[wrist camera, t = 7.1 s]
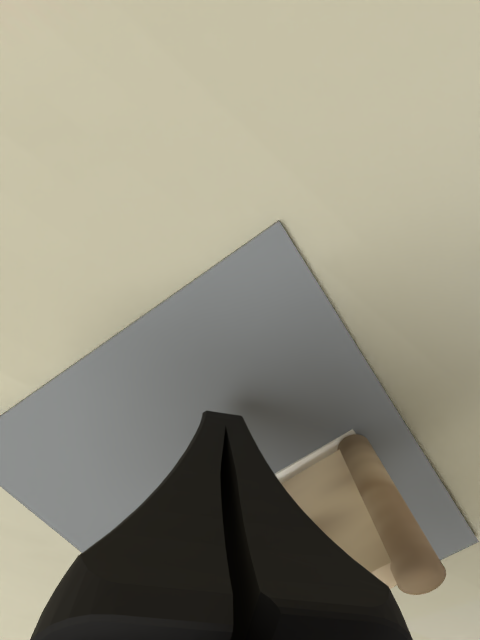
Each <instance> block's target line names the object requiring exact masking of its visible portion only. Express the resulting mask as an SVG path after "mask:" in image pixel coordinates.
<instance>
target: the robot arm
mask: <svg viewBox="0 0 480 640" xmlns="http://www.w3.org/2000/svg"><path fill="white" fill-rule="evenodd" d="M30 640H413V639H412V637H411V635H410V632H409V630H408V627H407V625H406V622H405V620H404V618H403V615H402V613H401V611H400V608H399V606H398V604H397V602H396V600H395V598H394V597H393V595H392V593H391V590H390V588H389V586H387V585H386V584H385V583H383V582H382V581H381V580H380V579H378V578H377V577H376V576H374V575H373V574H372V573H371V572H369V571H368V570H367V569H366V568H364V567H363V566H362V565H360V564H359V563H358V562H357V561H355V560H354V559H353V558H352V557H350V556H349V555H348V554H347V553H346V552H345V551H344V550H343V549H341V548H340V547H339V546H338V545H337V544H336V543H335V542H334V541H332V540H331V539H330V538H329V537H328V536H327V535H326V534H325V533H324V532H323V531H322V530H321V529H320V528H319V527H318V526H317V525H316V524H315V523H314V522H313V521H312V520H311V519H310V518H309V516H308V515H307V514H306V513H305V512H304V511H303V510H302V509H301V508H300V507H299V505H298V504H297V503H296V502H295V501H294V499H293V498H292V497H291V496H290V495H289V493H288V492H287V491H286V489H285V488H284V487H283V485H282V484H281V483H280V481H279V480H278V478H277V477H276V475H275V474H274V472H273V471H272V469H271V468H270V466H269V465H268V463H267V462H266V460H265V458H264V456H263V455H262V453H261V451H260V450H259V448H258V446H257V444H256V442H255V441H254V439H253V437H252V435H251V433H250V431H249V429H248V427H247V425H246V422H245V420H244V418H243V417H242V416H240V415H233V414H227V413H220V412H213V411H207V410H206V411H205V412H203V413H202V418H201V422H200V425H199V427H198V429H197V431H196V433H195V435H194V437H193V439H192V440H191V442H190V444H189V446H188V447H187V449H186V451H185V452H184V453H183V455H182V456H181V458H180V459H179V461H178V462H177V464H176V465H175V466H174V468H173V469H172V470H171V472H170V473H169V474H168V475H167V477H166V478H165V479H164V480H163V481H162V483H161V484H160V485H159V486H158V487H157V488H156V489H155V490H154V491H153V493H152V494H151V495H150V496H149V497H148V498H147V499H146V500H145V501H144V502H143V503H142V504H141V505H140V506H139V507H138V508H137V509H136V510H135V511H134V512H132V513H131V514H130V515H129V516H128V517H127V518H126V519H124V520H123V521H122V522H121V523H120V524H119V525H118V526H117V527H115V528H114V529H113V530H112V531H111V532H109V533H108V534H107V535H105V536H104V537H103V538H101V539H100V540H99V541H97V542H96V543H95V544H93V545H92V546H91V547H89V548H88V549H87V550H85V551H84V552H83V553H81V554H80V555H79V556H78V557H77V558H76V560H75V561H74V562H73V564H72V565H71V567H70V568H69V570H68V571H67V572H66V574H65V575H64V577H63V578H62V580H61V581H60V583H59V585H58V586H57V588H56V589H55V591H54V593H53V594H52V596H51V598H50V599H49V601H48V603H47V605H46V607H45V608H44V610H43V612H42V614H41V616H40V619H39V621H38V623H37V625H36V628H35V630H34V632H33V634H32V637H31V639H30Z"/></svg>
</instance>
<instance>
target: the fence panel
mask: <svg viewBox="0 0 480 640" xmlns="http://www.w3.org/2000/svg"><path fill="white" fill-rule="evenodd" d="M282 485H283V487H284V488H285V489H286V491H287V492H288V493H289V495H290V496H291V497H292V498H293V499H294V501H295V502H296V503H297V504H298V505H299V507H300V508H301V509H302V510H303V511H304V512H305V513H306V514H307V515H308V516H309V518H310V519H311V520H312V521H313V522H314V523H315V524H316V525H317V526H318V527H319V528H320V529H321V530H322V531H323V532H324V533H325V534H326V535H327V536H328V537H329V538H330V539H331V540H332V541H334V542H335V543H336V544H337V545H338V546H339V547H340V548H341V549H343V550H344V551H345V552H346V553H347V554H348V555H349V556H350V557H352V558H353V559H354V560H355V561H357V562H358V563H359V564H360V565H362V566H363V567H364V568H366V569H367V570H368V571H369V572H371V573H372V574H373V575H374V576H376V577H377V578H378V579H380V580H381V581H382V582H383V583H385V584H386V585H387V586H389V588H392V587H394V586H396V585H398V587H399V589H400V590H401V591H403V592H405V593H407V594H412V595H419V594H424V593H428V592H430V591H432V590H434V589H436V588H437V587H438V586H440V585H441V584H442V582H443V581H444V579H445V576H446V570H445V568H444V566H443V565H442V563H441V561H440V560H439V558H438V556H437V555H436V553H435V551H434V549H433V548H432V546H431V544H430V543H429V541H428V539H427V538H426V536H425V534H424V533H423V531H422V529H421V528H420V526H419V524H418V523H417V521H416V519H415V518H414V516H413V514H412V513H411V511H410V509H409V508H408V506H407V504H406V503H405V501H404V499H403V498H402V496H401V494H400V493H399V491H398V489H397V488H396V486H395V484H394V483H393V481H392V479H391V478H390V476H389V474H388V473H387V471H386V469H385V468H384V466H383V464H382V463H381V461H380V459H379V458H378V456H377V454H376V453H375V451H374V449H373V448H372V446H371V444H370V443H369V441H368V439H367V438H366V437H364V436H362V435H358V434H353V435H349V436H347V437H345V438H344V439H342V440H341V442H340V443H339V445H338V449H337V451H336V452H334V453H333V454H331V455H329V456H327V457H326V458H324V459H322V460H321V461H319V462H317V463H316V464H314V465H312V466H311V467H309V468H307V469H306V470H304V471H302V472H300V473H299V474H297V475H295V476H294V477H292V478H290V479H289V480H287V481H285V482H284V483H282Z"/></svg>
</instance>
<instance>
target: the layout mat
mask: <svg viewBox="0 0 480 640" xmlns="http://www.w3.org/2000/svg"><path fill="white" fill-rule="evenodd" d="M206 410H207V411H213V412H220V413H227V414H233V415H240V416H242V417H243V418H244V420H245V422H246V425H247V427H248V429H249V431H250V433H251V435H252V437H253V439H254V441H255V442H256V444H257V446H258V448H259V450H260V451H261V453H262V455H263V456H264V458H265V460H266V462H267V463H268V465H269V466H270V468H271V469H272V471H273V472H274V474H275V475H276V477H277V478H278V480H279V481H280V483H281V484H282V483H284V482H285V481H287V480H289V479H290V478H292V477H294V476H295V475H297V474H299V473H300V472H302V471H304V470H306V469H307V468H309V467H311V466H312V465H314V464H316V463H317V462H319V461H321V460H322V459H324V458H326V457H327V456H329V455H331V454H333V453H334V452H336V451H337V449H338V445H339V443H340V442H341V440H342V439H344V438H345V437H347V436H349V435H353V434H358V435H362V436H364V437H366V438H367V439H368V441H369V443H370V444H371V446H372V448H373V449H374V451H375V453H376V454H377V456H378V458H379V459H380V461H381V463H382V464H383V466H384V468H385V469H386V471H387V473H388V474H389V476H390V478H391V479H392V481H393V483H394V484H395V486H396V488H397V489H398V491H399V493H400V494H401V496H402V498H403V499H404V501H405V503H406V504H407V506H408V508H409V509H410V511H411V513H412V514H413V516H414V518H415V519H416V521H417V523H418V524H419V526H420V528H421V529H422V531H423V533H424V534H425V536H426V538H427V539H428V541H429V543H430V544H431V546H432V548H433V549H434V551H435V553H436V555H437V556H438V558H439V560H442V559H444V558H446V557H448V556H450V555H452V554H454V553H456V552H458V551H460V550H463V549H465V548H467V547H469V546H471V545H473V544H475V543H477V542H479V541H478V540H477V538H476V536H475V535H474V533H473V532H472V530H471V528H470V527H469V525H468V524H467V522H466V520H465V519H464V517H463V516H462V514H461V512H460V511H459V509H458V508H457V506H456V504H455V503H454V501H453V500H452V498H451V496H450V495H449V493H448V491H447V490H446V488H445V487H444V485H443V483H442V482H441V480H440V479H439V477H438V475H437V474H436V472H435V471H434V469H433V467H432V466H431V464H430V463H429V461H428V459H427V458H426V456H425V455H424V453H423V451H422V450H421V448H420V446H419V445H418V443H417V442H416V440H415V438H414V437H413V435H412V434H411V432H410V430H409V429H408V427H407V426H406V424H405V422H404V421H403V419H402V418H401V416H400V414H399V413H398V411H397V409H396V408H395V406H394V405H393V403H392V401H391V400H390V398H389V397H388V395H387V393H386V392H385V390H384V389H383V387H382V385H381V384H380V382H379V381H378V379H377V377H376V376H375V374H374V373H373V371H372V369H371V368H370V366H369V364H368V363H367V361H366V360H365V358H364V356H363V355H362V353H361V352H360V350H359V348H358V347H357V345H356V344H355V342H354V340H353V339H352V337H351V336H350V334H349V332H348V331H347V329H346V328H345V326H344V324H343V323H342V321H341V319H340V318H339V316H338V315H337V313H336V311H335V310H334V308H333V307H332V305H331V303H330V302H329V300H328V299H327V297H326V295H325V294H324V292H323V291H322V289H321V287H320V286H319V284H318V282H317V281H316V279H315V278H314V276H313V274H312V273H311V271H310V270H309V268H308V266H307V265H306V263H305V262H304V260H303V258H302V257H301V255H300V254H299V252H298V250H297V249H296V247H295V246H294V244H293V242H292V241H291V239H290V237H289V236H288V234H287V233H286V231H285V229H284V228H283V226H282V225H281V223H280V221H277V222H276V223H274V224H273V225H271V226H270V227H268V228H267V229H266V230H264V231H263V232H261V233H260V234H258V235H257V236H256V237H254V238H253V239H251V240H250V241H248V242H247V243H246V244H244V245H243V246H241V247H240V248H238V249H237V250H236V251H234V252H233V253H231V254H230V255H228V256H227V257H226V258H224V259H223V260H221V261H220V262H219V263H217V264H216V265H214V266H213V267H211V268H210V269H209V270H207V271H206V272H204V273H203V274H201V275H200V276H199V277H197V278H196V279H194V280H193V281H191V282H190V283H189V284H187V285H186V286H184V287H183V288H181V289H180V290H179V291H177V292H176V293H174V294H173V295H171V296H170V297H169V298H167V299H166V300H164V301H163V302H162V303H160V304H159V305H157V306H156V307H154V308H153V309H152V310H150V311H149V312H147V313H146V314H144V315H143V316H142V317H140V318H139V319H137V320H136V321H134V322H133V323H132V324H130V325H129V326H127V327H126V328H124V329H123V330H122V331H120V332H119V333H117V334H116V335H114V336H113V337H112V338H110V339H109V340H107V341H106V342H105V343H103V344H102V345H100V346H99V347H97V348H96V349H95V350H93V351H92V352H90V353H89V354H87V355H86V356H85V357H83V358H82V359H80V360H79V361H77V362H76V363H75V364H73V365H72V366H70V367H69V368H67V369H66V370H65V371H63V372H62V373H60V374H59V375H57V376H56V377H55V378H53V379H52V380H50V381H49V382H48V383H46V384H45V385H43V386H42V387H40V388H39V389H38V390H36V391H35V392H33V393H32V394H30V395H29V396H28V397H26V398H25V399H23V400H22V401H20V402H19V403H18V404H16V405H15V406H13V407H12V408H10V409H9V410H8V411H6V412H5V413H3V414H2V415H0V486H1V487H2V488H3V489H4V490H6V491H7V492H8V493H9V494H10V495H12V496H13V497H14V498H15V499H17V500H18V501H19V502H20V503H21V504H23V505H24V506H25V507H26V508H28V509H29V510H30V511H31V512H33V513H34V514H35V515H36V516H37V517H39V518H40V519H41V520H42V521H44V522H45V523H46V524H47V525H49V526H50V527H51V528H52V529H53V530H55V531H56V532H57V533H58V534H60V535H61V536H62V537H63V538H64V539H66V540H67V541H68V542H69V543H71V544H72V545H73V546H74V547H76V548H77V549H78V550H79V551H80V552H82V553H83V552H84V551H85V550H87V549H88V548H89V547H91V546H92V545H93V544H95V543H96V542H97V541H99V540H100V539H101V538H103V537H104V536H105V535H107V534H108V533H109V532H111V531H112V530H113V529H114V528H115V527H117V526H118V525H119V524H120V523H121V522H122V521H123V520H124V519H126V518H127V517H128V516H129V515H130V514H131V513H132V512H134V511H135V510H136V509H137V508H138V507H139V506H140V505H141V504H142V503H143V502H144V501H145V500H146V499H147V498H148V497H149V496H150V495H151V494H152V493H153V491H154V490H155V489H156V488H157V487H158V486H159V485H160V484H161V483H162V481H163V480H164V479H165V478H166V477H167V475H168V474H169V473H170V472H171V470H172V469H173V468H174V466H175V465H176V464H177V462H178V461H179V459H180V458H181V456H182V455H183V453H184V452H185V451H186V449H187V447H188V446H189V444H190V442H191V440H192V439H193V437H194V435H195V433H196V431H197V429H198V427H199V425H200V422H201V418H202V413H203V412H205V411H206Z"/></svg>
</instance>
